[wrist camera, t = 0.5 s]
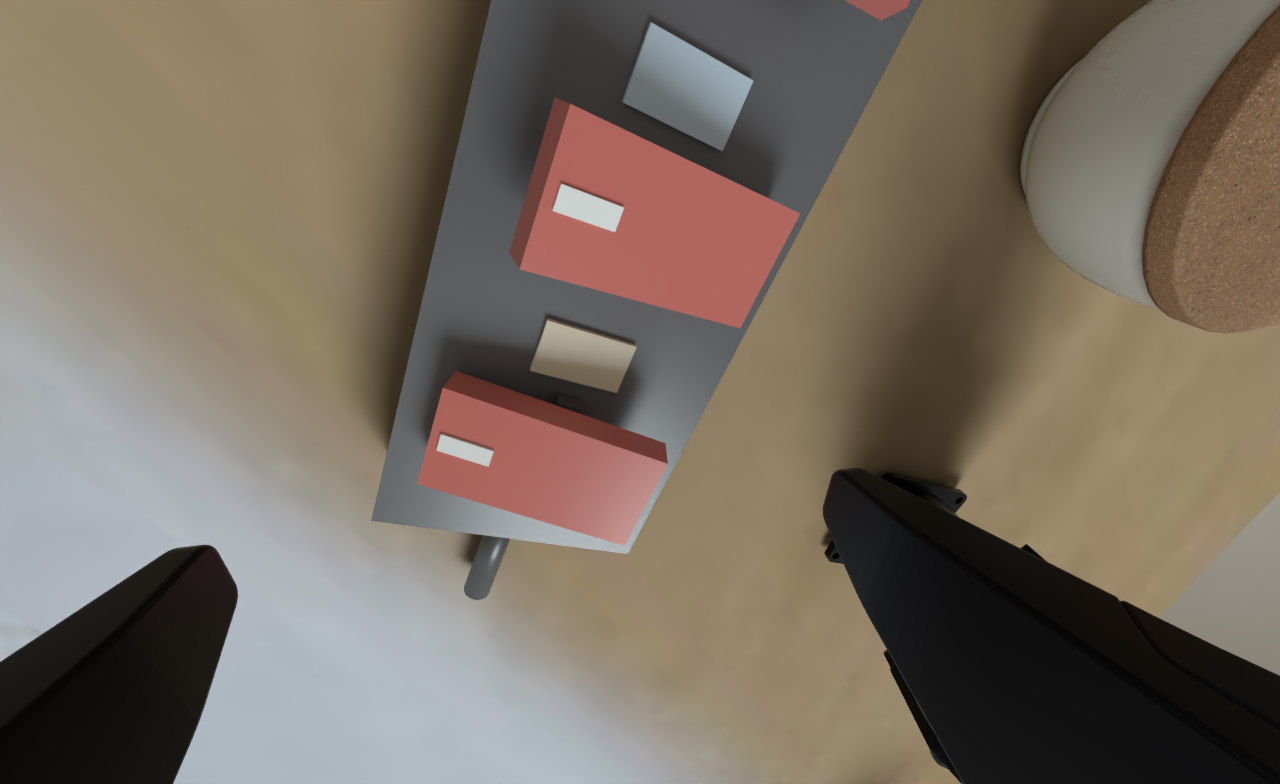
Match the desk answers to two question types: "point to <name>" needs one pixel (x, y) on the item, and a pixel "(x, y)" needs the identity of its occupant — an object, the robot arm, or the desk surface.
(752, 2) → the power strip
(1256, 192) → the lidded jar
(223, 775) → the desk surface
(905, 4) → the rocker
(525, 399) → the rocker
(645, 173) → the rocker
